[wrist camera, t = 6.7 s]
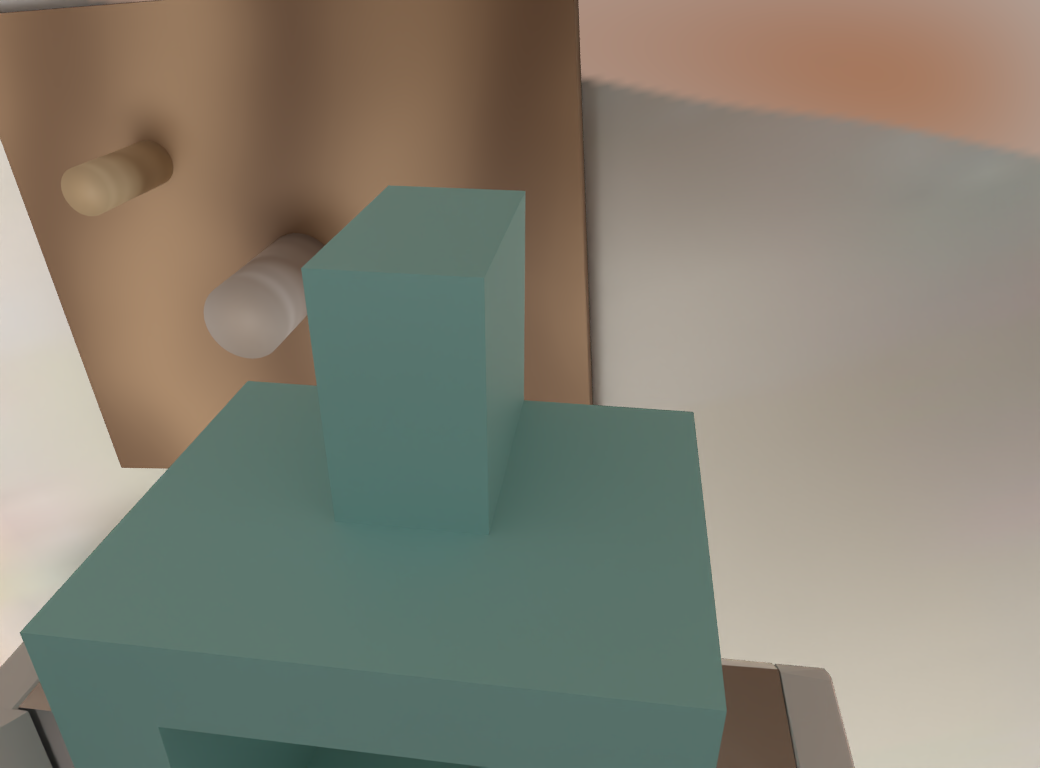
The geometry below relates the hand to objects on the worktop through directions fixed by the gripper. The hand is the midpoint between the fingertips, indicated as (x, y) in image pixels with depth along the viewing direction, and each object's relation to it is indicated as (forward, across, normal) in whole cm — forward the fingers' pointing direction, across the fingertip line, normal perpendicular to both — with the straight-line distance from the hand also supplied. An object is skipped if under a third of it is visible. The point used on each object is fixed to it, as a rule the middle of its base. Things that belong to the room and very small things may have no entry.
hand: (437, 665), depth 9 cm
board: (+15, +7, +1) cm, 17 cm away
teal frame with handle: (+2, 0, -1) cm, 2 cm away
